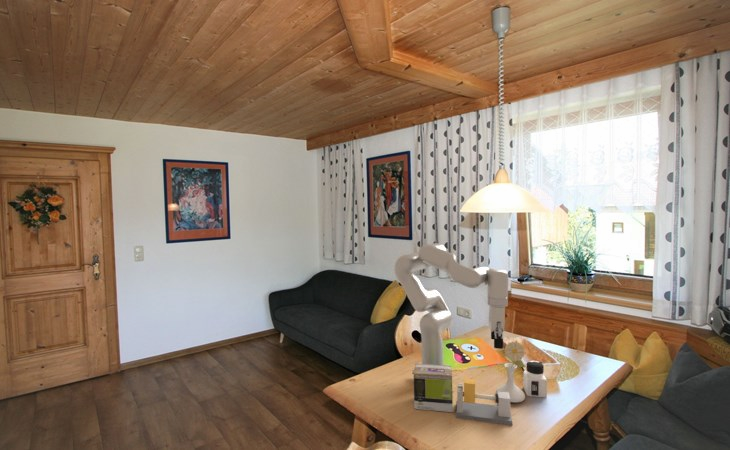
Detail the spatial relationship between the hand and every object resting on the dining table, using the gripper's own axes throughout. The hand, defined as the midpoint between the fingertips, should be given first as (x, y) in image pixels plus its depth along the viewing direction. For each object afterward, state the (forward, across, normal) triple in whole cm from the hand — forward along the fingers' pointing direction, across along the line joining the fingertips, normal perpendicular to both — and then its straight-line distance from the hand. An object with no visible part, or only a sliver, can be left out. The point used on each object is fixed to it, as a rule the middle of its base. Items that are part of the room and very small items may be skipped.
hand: (496, 343), depth 149 cm
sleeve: (+20, +8, -11) cm, 24 cm away
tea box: (+26, +5, -24) cm, 36 cm away
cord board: (+25, +8, -6) cm, 27 cm away
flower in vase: (+25, -6, +7) cm, 27 cm away
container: (+25, -13, +18) cm, 33 cm away
